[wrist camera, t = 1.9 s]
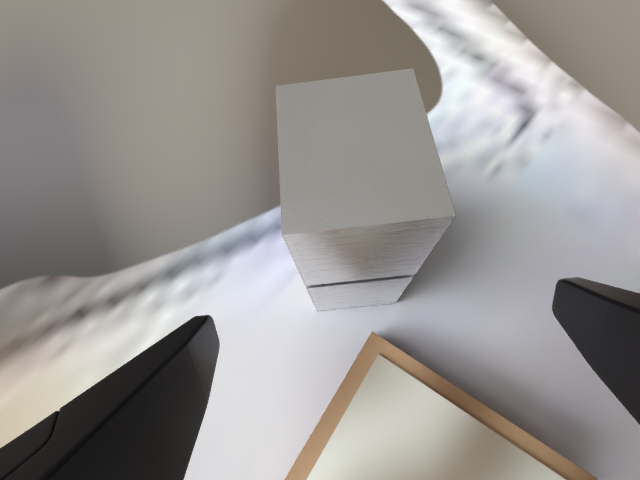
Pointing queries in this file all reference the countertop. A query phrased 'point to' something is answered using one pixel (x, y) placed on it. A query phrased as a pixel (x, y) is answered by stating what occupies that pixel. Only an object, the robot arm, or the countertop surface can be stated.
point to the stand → (418, 430)
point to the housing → (359, 186)
